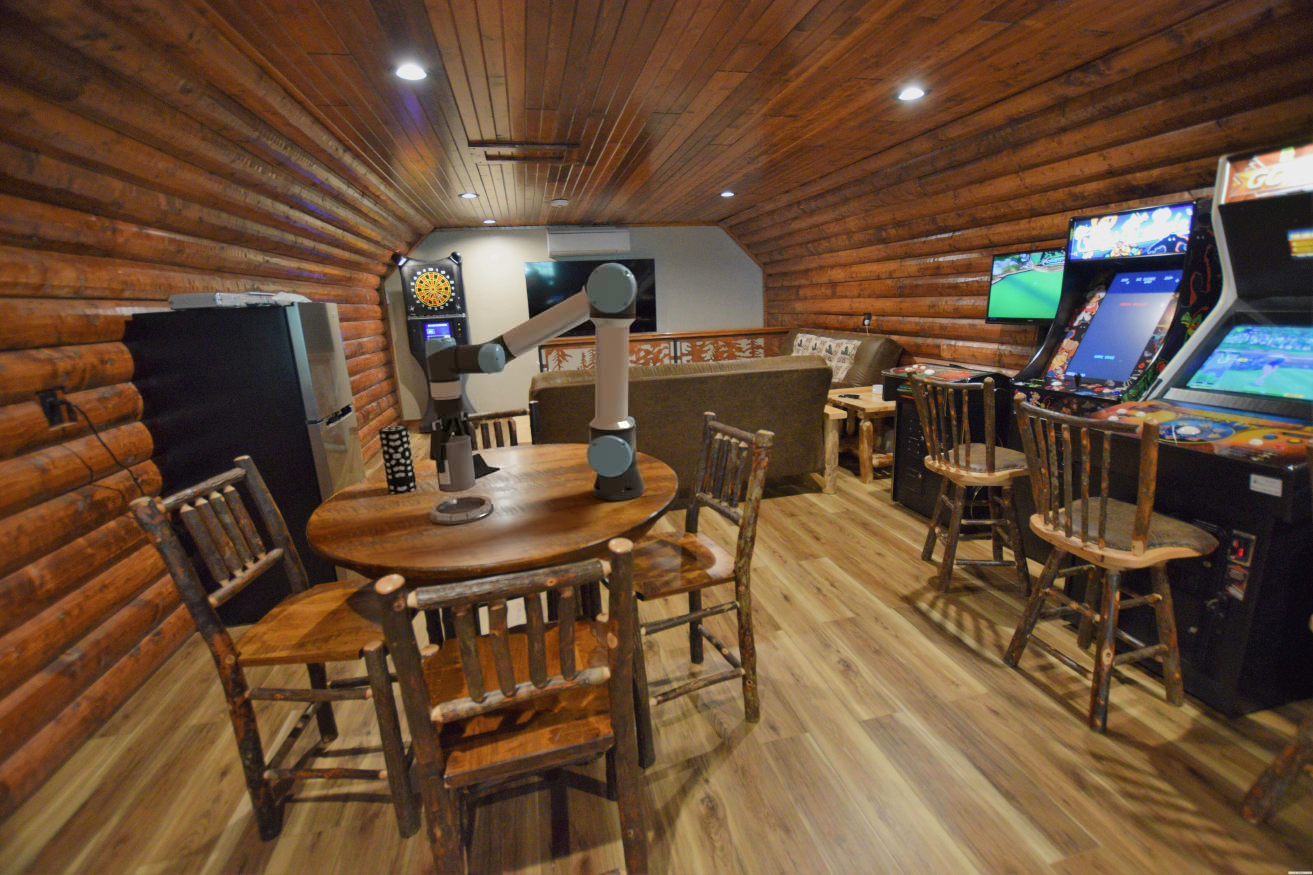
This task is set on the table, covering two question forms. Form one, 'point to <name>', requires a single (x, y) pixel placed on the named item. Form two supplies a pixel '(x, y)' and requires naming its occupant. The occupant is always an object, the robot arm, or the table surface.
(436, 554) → the table surface
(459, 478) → the pillar candle
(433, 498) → the table surface
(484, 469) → the handheld gaming console
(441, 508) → the ring plate
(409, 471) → the white-spotted black cylinder
